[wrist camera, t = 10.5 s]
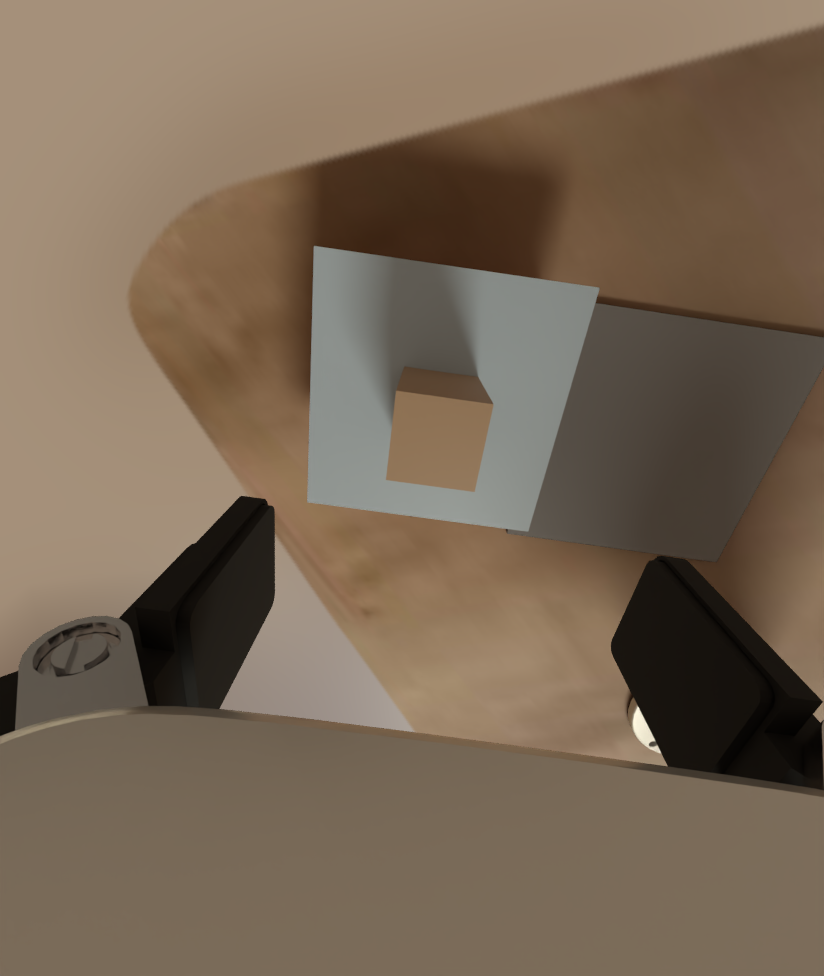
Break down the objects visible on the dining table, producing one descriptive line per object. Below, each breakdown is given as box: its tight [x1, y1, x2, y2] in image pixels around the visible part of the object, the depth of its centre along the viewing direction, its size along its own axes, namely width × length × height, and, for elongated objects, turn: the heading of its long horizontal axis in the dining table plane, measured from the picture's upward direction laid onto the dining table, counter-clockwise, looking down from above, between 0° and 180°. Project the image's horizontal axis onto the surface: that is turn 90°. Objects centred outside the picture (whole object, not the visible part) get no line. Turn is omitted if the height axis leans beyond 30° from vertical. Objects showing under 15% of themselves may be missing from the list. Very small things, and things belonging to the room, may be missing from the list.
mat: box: [506, 303, 824, 562], centre depth 30 cm, size 17×17×1 cm
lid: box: [307, 246, 600, 532], centre depth 21 cm, size 14×14×7 cm
